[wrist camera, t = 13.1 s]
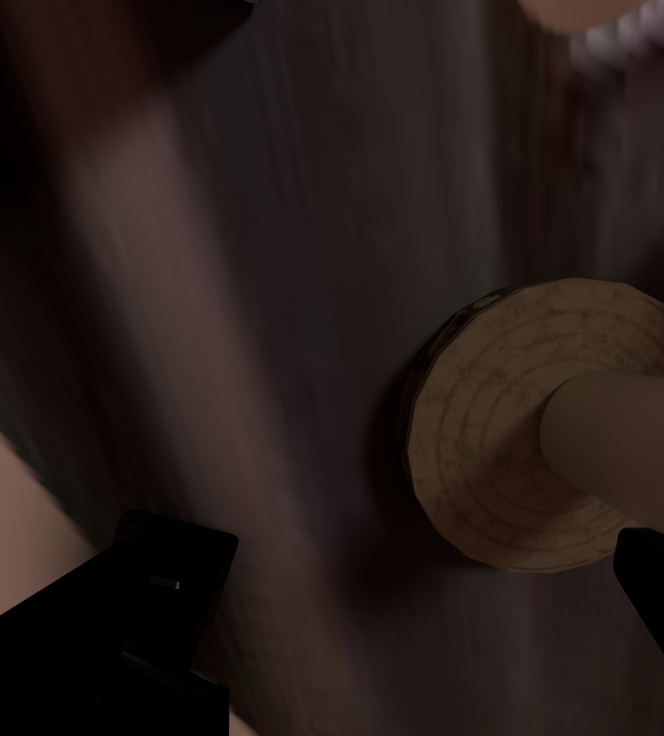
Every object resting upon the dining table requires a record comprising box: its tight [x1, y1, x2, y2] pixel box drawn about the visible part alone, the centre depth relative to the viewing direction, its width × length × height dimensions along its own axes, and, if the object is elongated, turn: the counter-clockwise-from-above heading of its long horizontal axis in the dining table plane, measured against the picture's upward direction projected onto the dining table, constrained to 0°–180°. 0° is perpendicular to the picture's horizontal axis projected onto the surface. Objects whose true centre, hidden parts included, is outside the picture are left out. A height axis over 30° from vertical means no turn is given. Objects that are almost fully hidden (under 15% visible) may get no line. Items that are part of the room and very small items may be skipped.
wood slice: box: [395, 278, 664, 573], centre depth 19 cm, size 16×16×3 cm
